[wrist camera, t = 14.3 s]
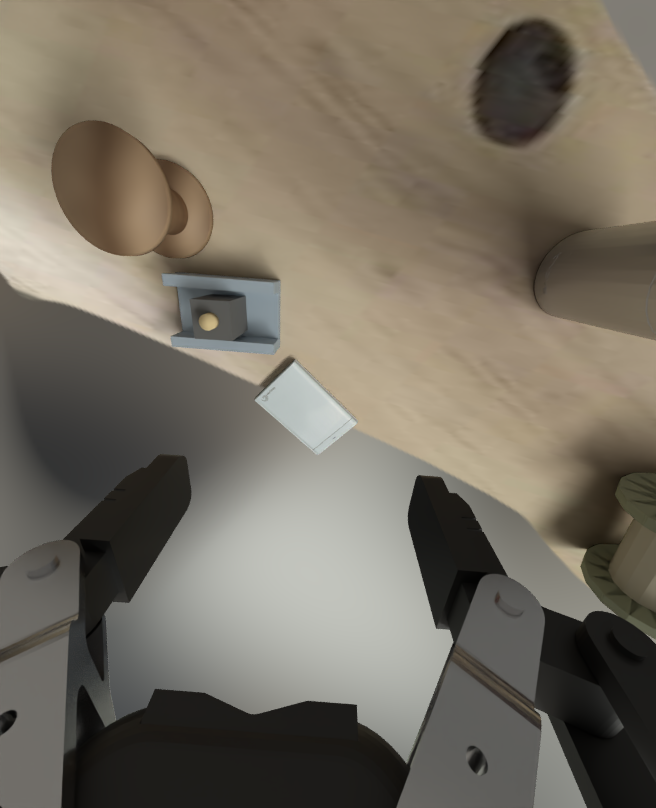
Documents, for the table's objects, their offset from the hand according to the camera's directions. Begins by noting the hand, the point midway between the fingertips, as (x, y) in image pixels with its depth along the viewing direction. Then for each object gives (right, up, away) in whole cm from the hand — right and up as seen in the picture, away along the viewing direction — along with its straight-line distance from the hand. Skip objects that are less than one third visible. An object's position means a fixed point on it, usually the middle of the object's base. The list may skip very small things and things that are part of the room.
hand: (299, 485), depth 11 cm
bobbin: (-16, +24, +23) cm, 37 cm away
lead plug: (-11, +14, +26) cm, 31 cm away
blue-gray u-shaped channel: (-11, +14, +27) cm, 32 cm away
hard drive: (-2, +2, +33) cm, 33 cm away
